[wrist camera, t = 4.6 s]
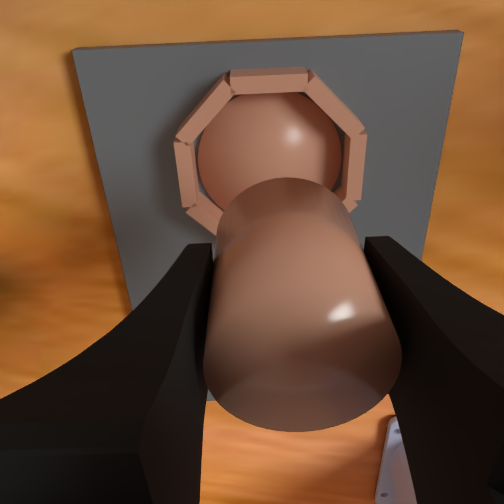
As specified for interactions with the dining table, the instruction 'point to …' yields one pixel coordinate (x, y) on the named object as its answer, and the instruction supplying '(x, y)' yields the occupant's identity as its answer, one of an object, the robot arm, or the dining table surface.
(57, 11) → the dining table surface
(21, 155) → the dining table surface
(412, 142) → the grey board with rings
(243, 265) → the beige rounded cylinder
